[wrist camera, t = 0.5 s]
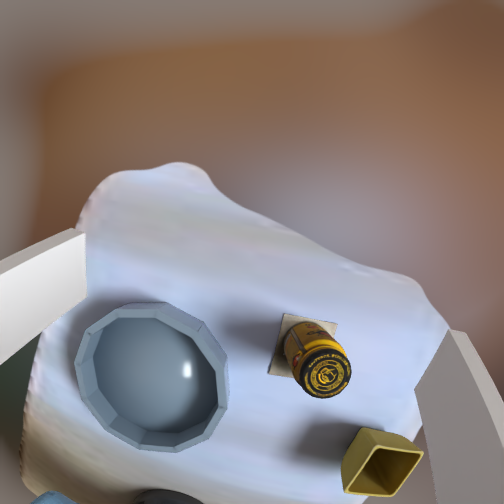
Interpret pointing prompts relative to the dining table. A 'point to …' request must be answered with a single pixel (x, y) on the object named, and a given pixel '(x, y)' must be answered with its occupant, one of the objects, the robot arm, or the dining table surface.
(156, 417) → the bowl
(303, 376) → the condiment
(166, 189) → the dining table surface
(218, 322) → the dining table surface
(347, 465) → the flower pot
